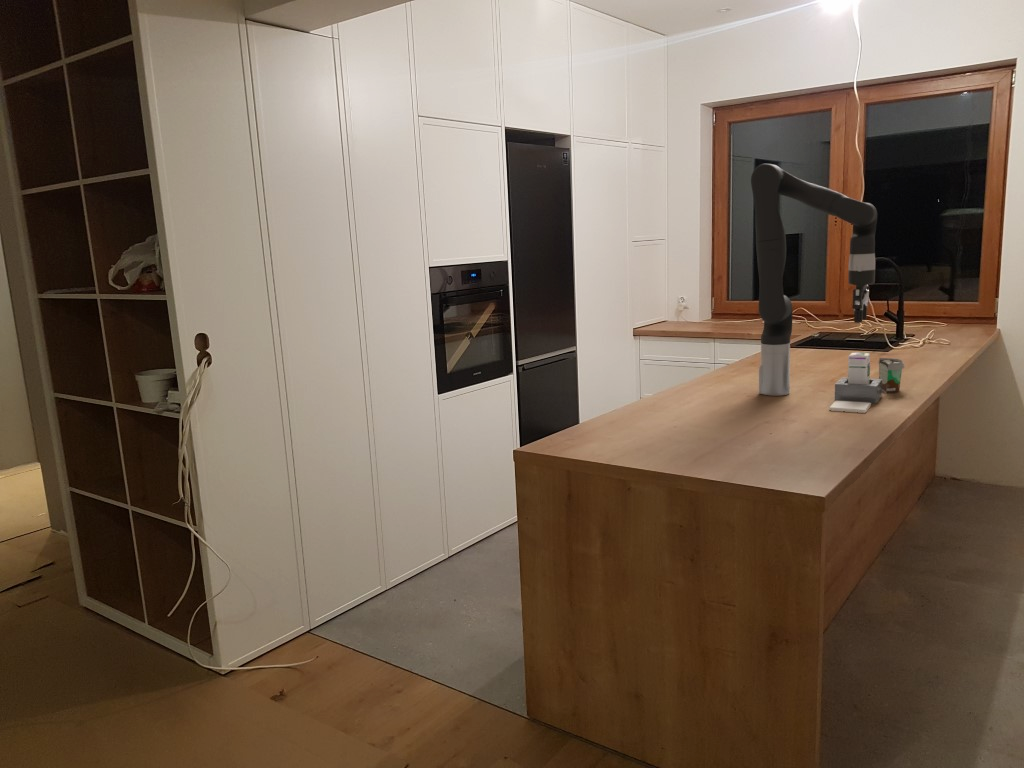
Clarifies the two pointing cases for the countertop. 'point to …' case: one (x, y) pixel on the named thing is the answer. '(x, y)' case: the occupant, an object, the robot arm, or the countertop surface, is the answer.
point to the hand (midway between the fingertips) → (860, 320)
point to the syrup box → (859, 368)
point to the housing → (858, 391)
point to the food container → (890, 374)
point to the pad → (850, 406)
